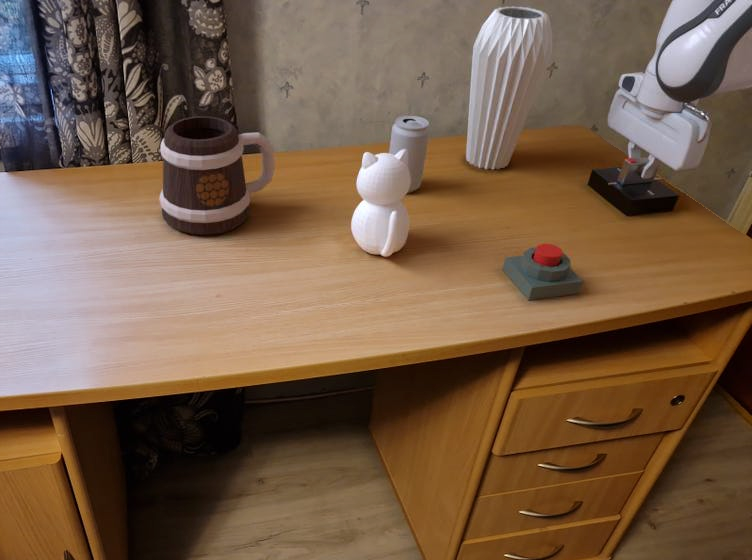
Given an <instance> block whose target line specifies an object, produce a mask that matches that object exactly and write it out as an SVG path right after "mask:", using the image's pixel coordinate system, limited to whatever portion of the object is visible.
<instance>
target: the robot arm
mask: <svg viewBox="0 0 752 560" xmlns="http://www.w3.org/2000/svg"><path fill="white" fill-rule="evenodd" d="M655 44H656V45H655V46H656V47H655V51H654V53H653V56H652V58H651V59H650V61H649V62H648V64H647V66H646V69H645V71H639V72H631V73H629V72H628V73H623V74H622V75H621V76H620V78H619V81H618V87H619V89H617V90H616V92H615V94H614V96H613V99H612V101H611V104H610V107H609V111H608V114H607V118H606V120H607V127H609V129H612V130H613V131H615V132H616V133H618V134H619V135H621V136H622V137H624V138H625V139H626V140H628V141H629V142H628V145H627V151H628V158H633V159H636V158H642V150H644V151H645V152H647V153H648V154H649V155H648V157H649V158H648V159H649V160H650V161H649V162H648V164H647V165H646V166H641V167H640V169H639V172H638V175H639V176H641V177H642V178H643V179H649V178H651V177H652V175H653V173H654V170H655V169H656V168H657V167H658V166H659V167H660V166H661V165H662V164H665V165H666V166H668V167H669V168H670V169H672V170H674V171H675V172H687V171H693V170H695V169H696V168H698V167H699V166H700V164H701V163H702V160H703V157H704V155H705V151H706V150H707V149H706V148H707V145H708V141H709V138H710V134H711V128H712V125H713V124H712V122H711V118H710V116H709V115H710V114H709V112H708V111H707V110H705V109H703V108H700V107H698V102H699V100H701V99H705V98H708V97H710V96H715V95H720V94H725V93H731V92H736V91H740V90H745V89H749V88H752V0H672V1H671V2H670V5H669V7H668V9H667V11H666V13H665V16H664V18H663V21H662V24H661V26H660V29H659V31H658V35H657V38H656V43H655ZM659 167H658V168H659Z"/></svg>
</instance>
